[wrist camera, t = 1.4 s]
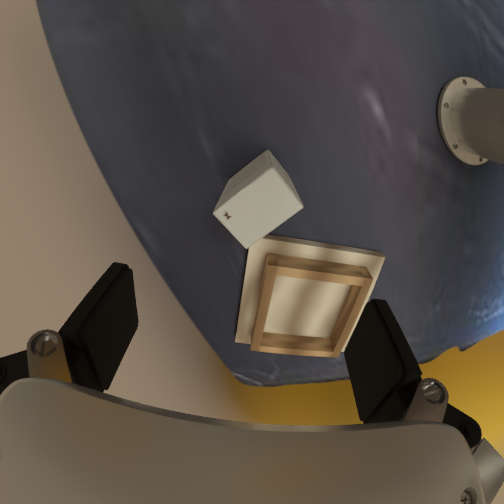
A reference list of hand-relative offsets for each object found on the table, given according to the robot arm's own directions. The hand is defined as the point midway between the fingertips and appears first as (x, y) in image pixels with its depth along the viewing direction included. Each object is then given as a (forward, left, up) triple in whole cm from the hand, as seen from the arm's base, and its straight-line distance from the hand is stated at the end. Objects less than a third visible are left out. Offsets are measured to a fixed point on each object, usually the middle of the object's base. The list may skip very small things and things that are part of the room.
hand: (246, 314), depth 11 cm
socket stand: (-9, +16, -24) cm, 30 cm away
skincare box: (0, 0, -24) cm, 24 cm away
